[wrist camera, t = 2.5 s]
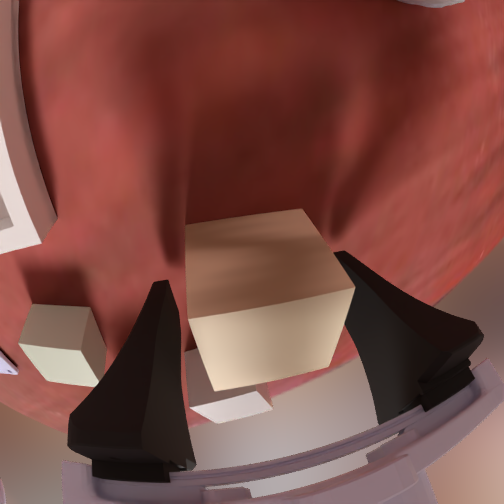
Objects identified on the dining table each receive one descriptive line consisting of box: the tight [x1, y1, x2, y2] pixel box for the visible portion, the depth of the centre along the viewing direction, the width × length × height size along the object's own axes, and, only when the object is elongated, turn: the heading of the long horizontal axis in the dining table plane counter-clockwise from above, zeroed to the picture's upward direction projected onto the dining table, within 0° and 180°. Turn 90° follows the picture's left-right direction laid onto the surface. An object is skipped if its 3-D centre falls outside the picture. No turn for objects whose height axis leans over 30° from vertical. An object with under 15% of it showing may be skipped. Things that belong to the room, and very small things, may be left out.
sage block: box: [18, 304, 107, 387], centre depth 12 cm, size 4×4×3 cm
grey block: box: [185, 348, 273, 424], centre depth 16 cm, size 4×4×4 cm
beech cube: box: [185, 209, 355, 391], centre depth 11 cm, size 5×5×5 cm
